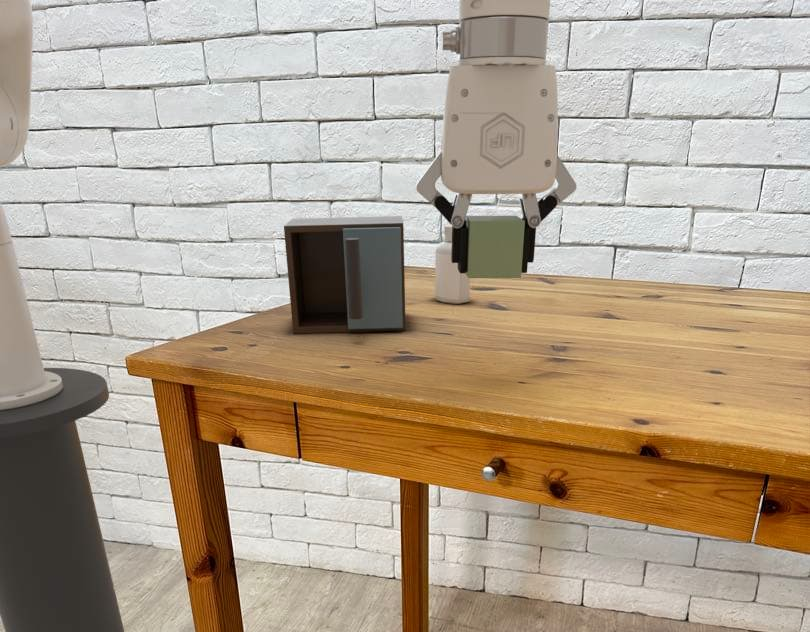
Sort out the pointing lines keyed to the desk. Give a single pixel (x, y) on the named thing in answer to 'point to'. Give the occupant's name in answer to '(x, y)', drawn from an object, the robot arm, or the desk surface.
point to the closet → (326, 271)
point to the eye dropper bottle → (449, 274)
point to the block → (495, 246)
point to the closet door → (373, 277)
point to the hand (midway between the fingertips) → (491, 268)
